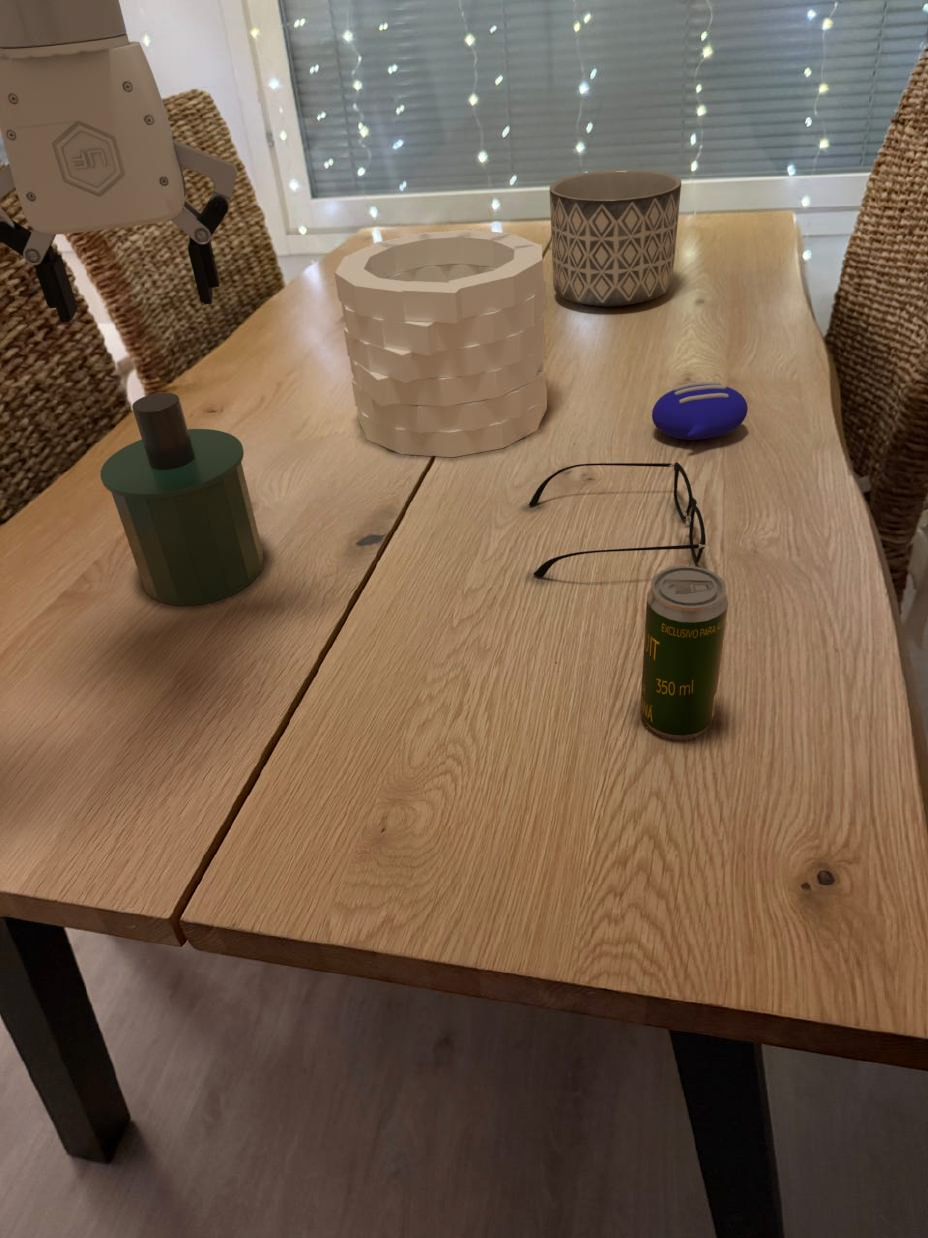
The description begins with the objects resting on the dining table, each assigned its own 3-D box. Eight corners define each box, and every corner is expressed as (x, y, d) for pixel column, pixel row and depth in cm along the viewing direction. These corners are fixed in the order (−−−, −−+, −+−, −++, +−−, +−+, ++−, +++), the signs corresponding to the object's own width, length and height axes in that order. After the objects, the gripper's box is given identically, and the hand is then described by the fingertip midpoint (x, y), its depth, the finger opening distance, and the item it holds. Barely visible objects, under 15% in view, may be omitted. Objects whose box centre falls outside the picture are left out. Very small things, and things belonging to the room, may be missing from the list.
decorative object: (657, 397, 98) (652, 373, 107) (652, 450, 101) (648, 422, 110) (758, 399, 97) (745, 375, 106) (750, 453, 100) (739, 425, 108)
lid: (74, 496, 81) (48, 427, 77) (157, 434, 90) (138, 369, 86) (196, 512, 77) (176, 440, 73) (270, 445, 86) (255, 377, 82)
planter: (681, 278, 150) (689, 168, 140) (664, 318, 136) (671, 199, 126) (566, 275, 156) (565, 169, 146) (538, 314, 142) (535, 199, 132)
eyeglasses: (710, 579, 83) (714, 541, 80) (534, 588, 83) (533, 550, 81) (679, 489, 96) (682, 454, 93) (527, 497, 97) (526, 463, 94)
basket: (394, 372, 127) (377, 228, 116) (565, 379, 121) (564, 228, 109) (324, 455, 108) (295, 292, 97) (523, 469, 102) (517, 296, 90)
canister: (118, 596, 87) (79, 488, 80) (186, 532, 96) (156, 431, 89) (224, 613, 84) (192, 503, 77) (284, 546, 92) (261, 441, 85)
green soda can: (705, 692, 71) (720, 561, 64) (720, 741, 66) (738, 607, 59) (634, 695, 71) (641, 566, 64) (645, 744, 67) (654, 612, 60)
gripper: (-112, 42, 51) (2, 341, 62) (201, 12, 53) (261, 308, 63) (-74, 32, 57) (24, 307, 68) (206, 5, 59) (260, 277, 69)
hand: (139, 307), depth 66 cm, fingers open, 9 cm apart
